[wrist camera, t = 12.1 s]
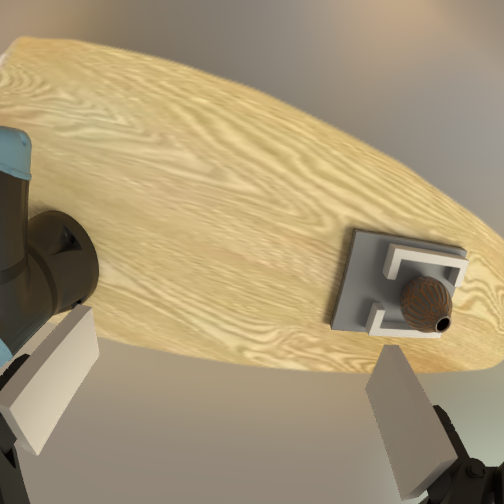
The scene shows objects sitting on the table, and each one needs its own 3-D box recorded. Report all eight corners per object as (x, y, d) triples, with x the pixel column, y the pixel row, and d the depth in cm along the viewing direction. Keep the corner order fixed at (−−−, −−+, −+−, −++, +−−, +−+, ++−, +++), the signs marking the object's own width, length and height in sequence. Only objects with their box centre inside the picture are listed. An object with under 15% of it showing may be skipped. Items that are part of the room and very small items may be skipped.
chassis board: (330, 324, 42) (334, 337, 39) (354, 228, 37) (361, 236, 34) (433, 331, 42) (441, 342, 39) (463, 248, 37) (474, 256, 34)
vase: (393, 274, 38) (420, 306, 29) (436, 264, 37) (469, 292, 29) (393, 318, 40) (415, 355, 32) (434, 307, 39) (461, 340, 31)
